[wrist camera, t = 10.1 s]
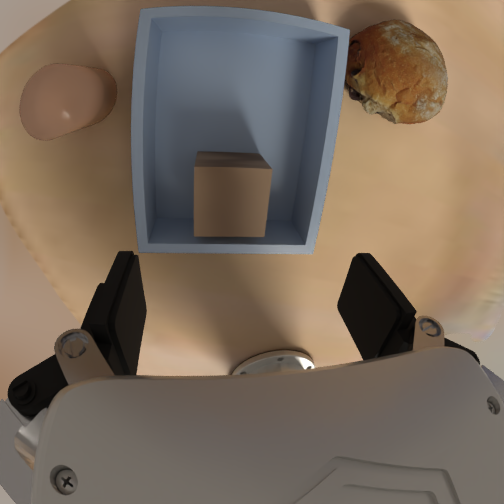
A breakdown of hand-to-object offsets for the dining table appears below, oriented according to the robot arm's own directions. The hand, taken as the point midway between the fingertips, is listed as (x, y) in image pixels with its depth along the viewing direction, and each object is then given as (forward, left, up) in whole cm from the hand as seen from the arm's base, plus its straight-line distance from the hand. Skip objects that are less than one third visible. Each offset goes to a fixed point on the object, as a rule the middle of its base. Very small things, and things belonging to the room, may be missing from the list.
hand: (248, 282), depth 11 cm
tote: (+5, 0, -14) cm, 15 cm away
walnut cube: (0, 0, -14) cm, 14 cm away
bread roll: (+12, -13, -15) cm, 23 cm away
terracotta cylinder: (+8, +12, -14) cm, 20 cm away
